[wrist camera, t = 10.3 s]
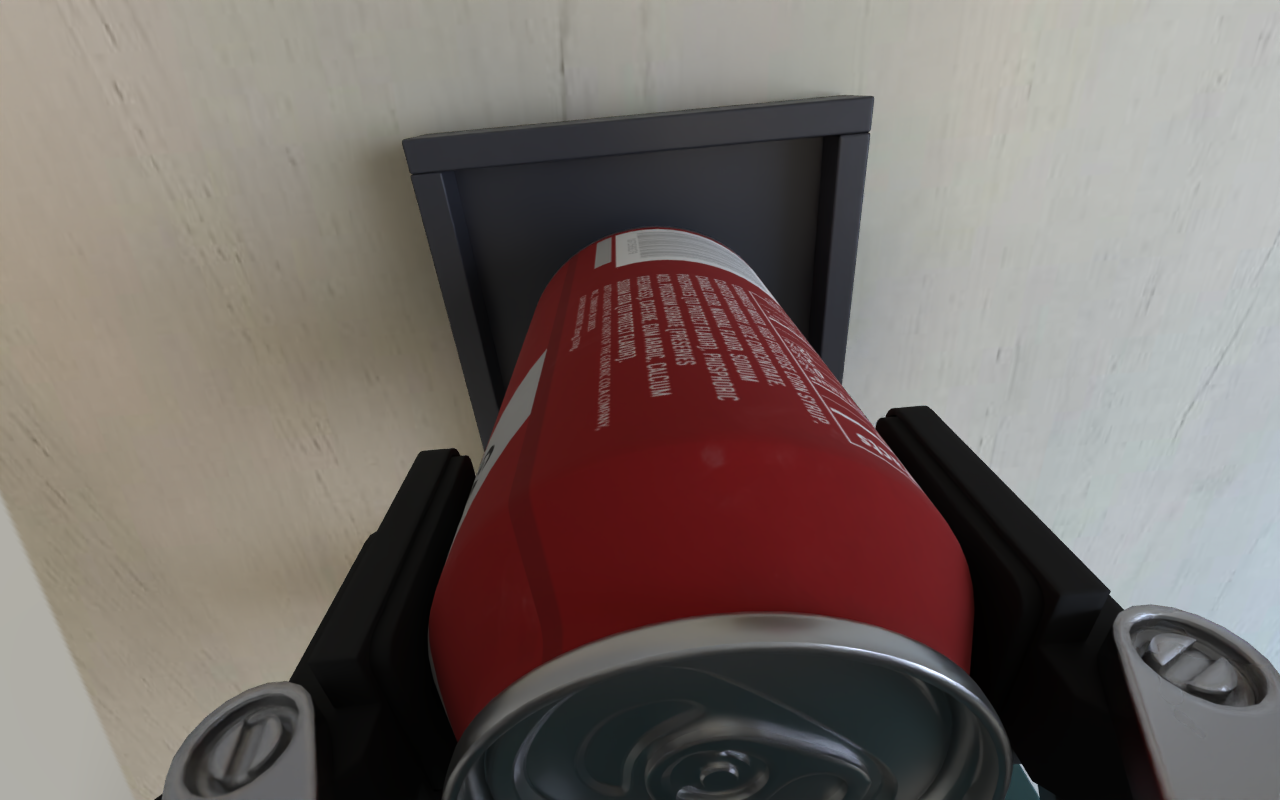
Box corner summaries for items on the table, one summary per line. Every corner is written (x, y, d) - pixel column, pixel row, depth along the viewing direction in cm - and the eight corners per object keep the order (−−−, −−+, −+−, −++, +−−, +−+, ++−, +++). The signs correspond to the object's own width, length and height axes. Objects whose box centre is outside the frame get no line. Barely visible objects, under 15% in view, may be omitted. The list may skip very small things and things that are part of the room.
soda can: (599, 169, 14) (551, 439, 3) (816, 292, 15) (1250, 727, 5) (497, 385, 16) (293, 908, 6) (692, 468, 18) (798, 982, 8)
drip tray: (424, 134, 15) (399, 140, 13) (845, 95, 15) (875, 95, 13) (508, 472, 21) (498, 507, 19) (813, 445, 21) (832, 477, 19)
